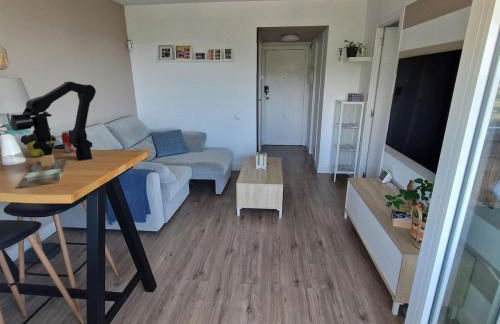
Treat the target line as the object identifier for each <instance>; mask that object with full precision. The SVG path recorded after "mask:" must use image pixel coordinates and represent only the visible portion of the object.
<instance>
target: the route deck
mask: <svg viewBox="0 0 500 324" xmlns="http://www.w3.org/2000/svg"><path fill="white" fill-rule="evenodd" d="M54 160H55V163H54V164H53V165H50V166H43V167H42V165H41V161H36V163H33V164H32V165H31V166H30V169H29V171H28V172H27V173H26V174H25V175H24V177H23V178H22V179H21V180H20V181H19V185H20V188H21V189H26V188H27V189H28V188H33V187H34V188H35V187H41V186H47V185H52V184H59V182H60V180H61V177H62V175H63V173H64V170H65V169H66V166H67V164H68V161H67V159H66V158H59V159H54ZM64 168H65V169H64Z"/></svg>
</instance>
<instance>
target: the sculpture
mask: <svg viewBox="0 0 500 324" xmlns="http://www.w3.org/2000/svg"><path fill="white" fill-rule="evenodd" d="M50 142H51V143H54V144H55V141H50ZM34 143H35V141H33V142H30V143H28V144H27V145H25V147H26V148H27V150H28V151H29V155H30V156H31V157H35V158H36V157H41V156H45V154H44V152H43V151H42V150H41V149H33V144H34ZM54 149H55V146H54V147H53V150H54Z"/></svg>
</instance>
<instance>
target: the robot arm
mask: <svg viewBox="0 0 500 324" xmlns="http://www.w3.org/2000/svg"><path fill="white" fill-rule="evenodd" d="M96 91H97V90H96V88H95V86H93V85H91V84H81V83H77V82H74V81H64V83H63V84H61V85H59V86H58V87H56V88H54V89H52V90H50V91H49V92H47V93H45V94H44V95H40V96H37V97H34V98H31V99H29V100H27V101H26V103H25V106H26V107H25V108H24V110H23V112H22V113H21V114H11V115H10V122H9V123H10V127H11V129H12V130H13V131H25V130H29V129H32V127H33V130H32V133H31V134H24V135H21V138H20V143H22V144H23V145H24V146H26V145H27V144H28V143H30V142H33V141H35V143H34V144H33V149H41V150H42V151H43V152H44V154H45V155H44V156H46V155H53V151H54V149H53V147H54V148H55V142H56V141H57V137H56V136H55V135H53V134H51V127H50V126H49V125H50V124H49V120H48V118H49V117H52V116H53V115H52V114H51V113H49V112H48V111H46V110H48V109H49V108H50V106H51V105H52V104H53V103H54V102H55V101H57V100H59V99H60V98H62V97H64V96H65V95H67V94H68V93H69V92H74V93H77V98H78V107H77V112H76V119H75V123H74V128H73V129H71V130H68V131H69V135H68V137H67V138H69V139H68V140H69V142H70V143H71V144H72V145H73V146H74V147H76V152H75V156H76V159H77V161H83V160H84V161H85V160H92V159H93V155H92V154H93V153H92V149H91V148H93V142H91V141H90V140H88V134H87V131H86V127H87V120H88V115H89V110H90V106H91V105H90V104H91V102H92V101H93V100H94V98H95V95H96ZM50 141H54V143H51V142H50Z"/></svg>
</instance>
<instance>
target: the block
mask: <svg viewBox="0 0 500 324" xmlns="http://www.w3.org/2000/svg"><path fill="white" fill-rule="evenodd" d="M39 160H40V161H39V162H41V165H42V167H43V166H50V165H53V164H54V163H55V160H56V159H55V155H54V154H52V155H46V156H45V155H42V156H39Z"/></svg>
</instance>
